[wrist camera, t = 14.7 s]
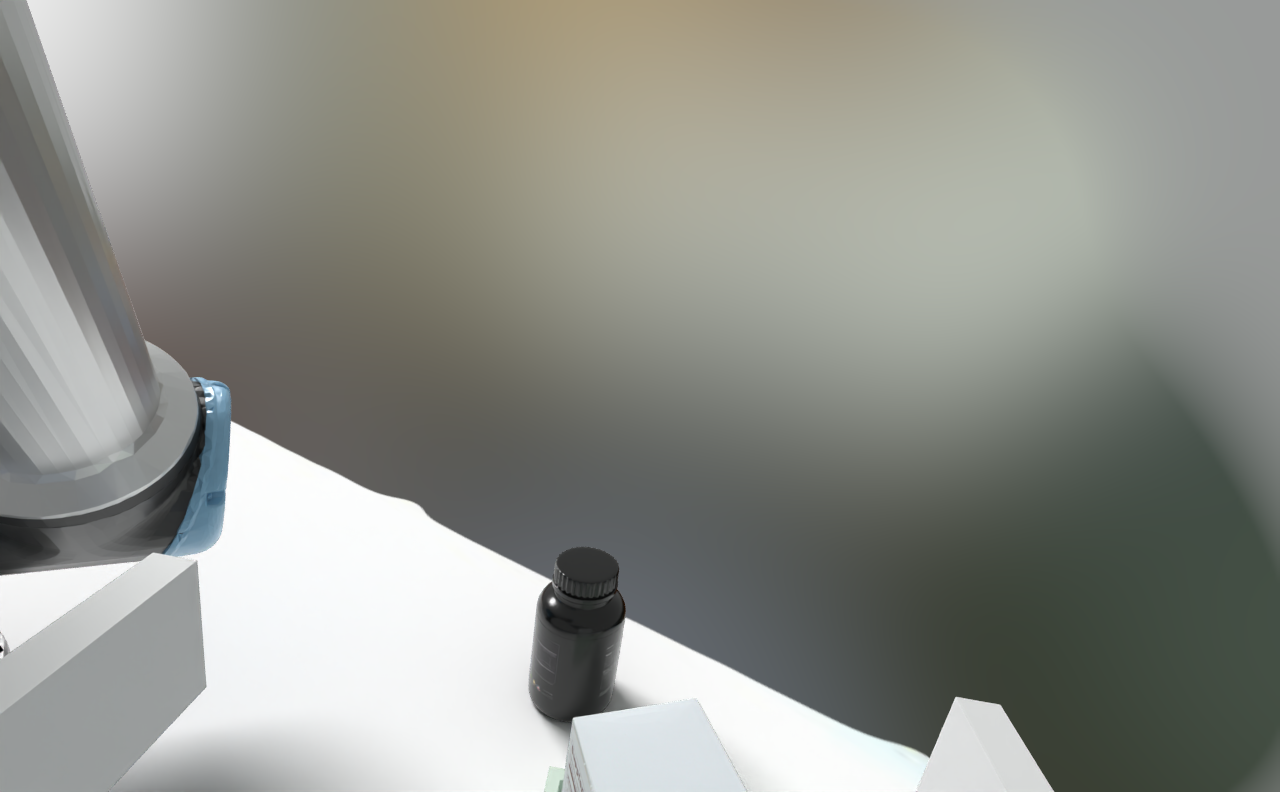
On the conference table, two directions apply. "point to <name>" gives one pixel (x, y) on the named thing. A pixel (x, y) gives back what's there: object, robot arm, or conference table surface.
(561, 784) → the pale green tray
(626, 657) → the conference table surface
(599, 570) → the supplement bottle
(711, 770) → the supplement box
